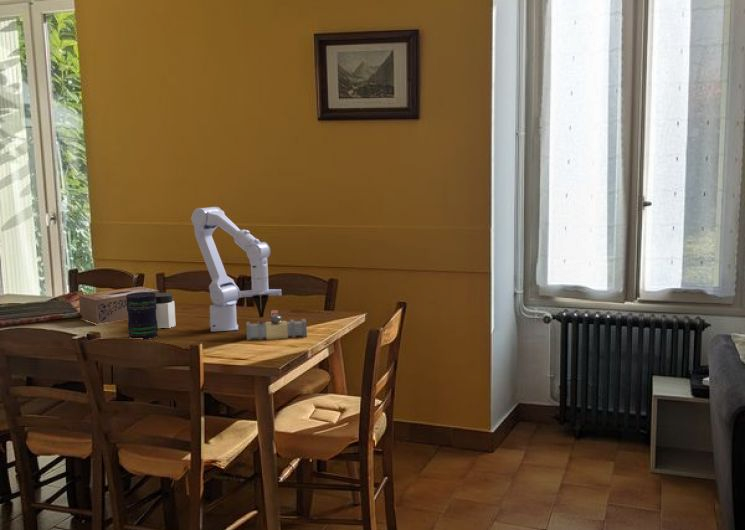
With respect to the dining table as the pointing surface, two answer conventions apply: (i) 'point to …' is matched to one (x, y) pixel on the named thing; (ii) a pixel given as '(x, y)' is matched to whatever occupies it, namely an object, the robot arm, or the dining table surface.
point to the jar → (165, 310)
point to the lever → (275, 317)
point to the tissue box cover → (107, 304)
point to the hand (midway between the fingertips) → (261, 316)
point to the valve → (276, 329)
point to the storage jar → (142, 315)
